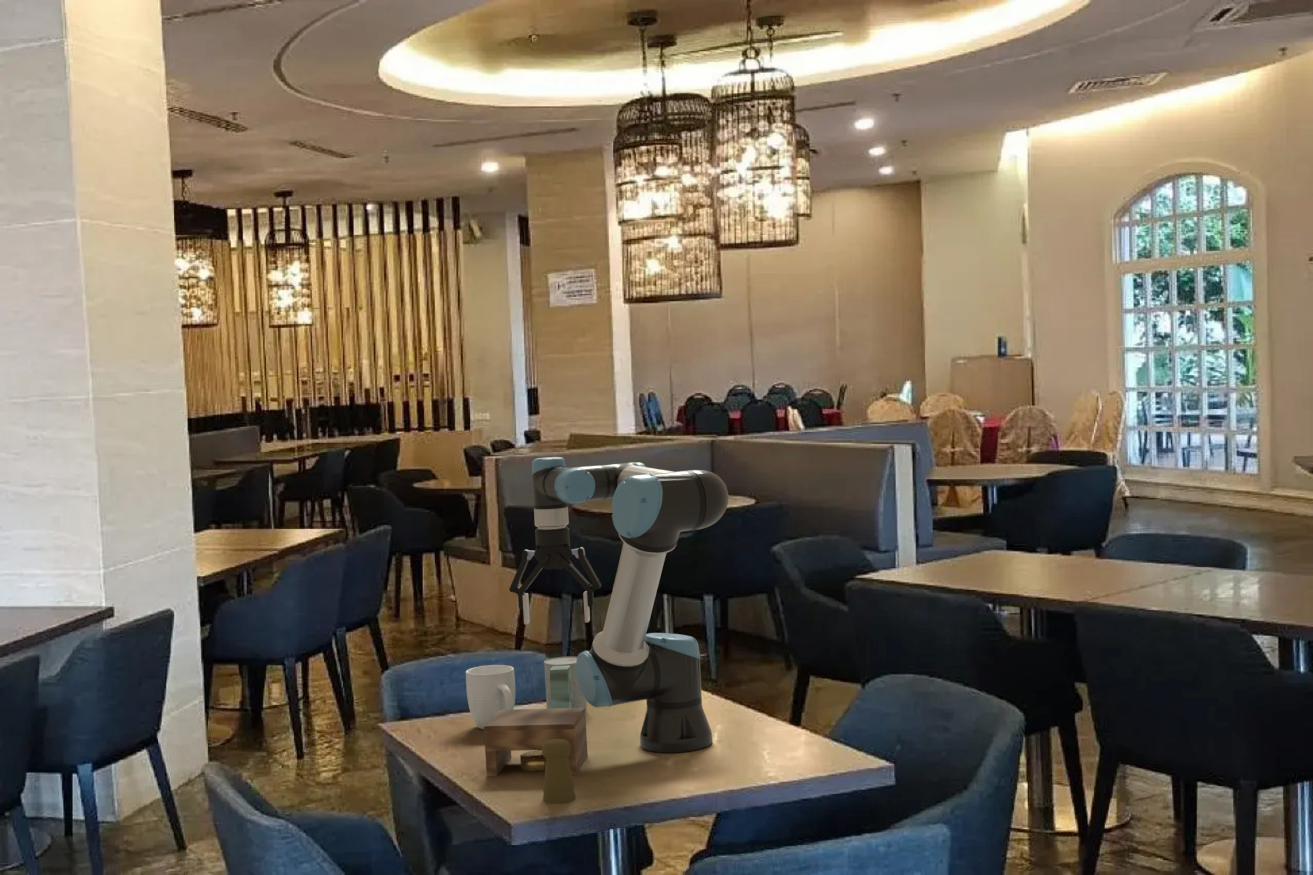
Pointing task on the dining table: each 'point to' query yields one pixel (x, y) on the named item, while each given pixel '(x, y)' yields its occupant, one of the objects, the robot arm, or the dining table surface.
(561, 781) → the cork
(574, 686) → the speckled white cylinder
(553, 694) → the sweep tool
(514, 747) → the wooden bench
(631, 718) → the dining table surface
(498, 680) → the mug
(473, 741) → the dining table surface
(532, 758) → the token
